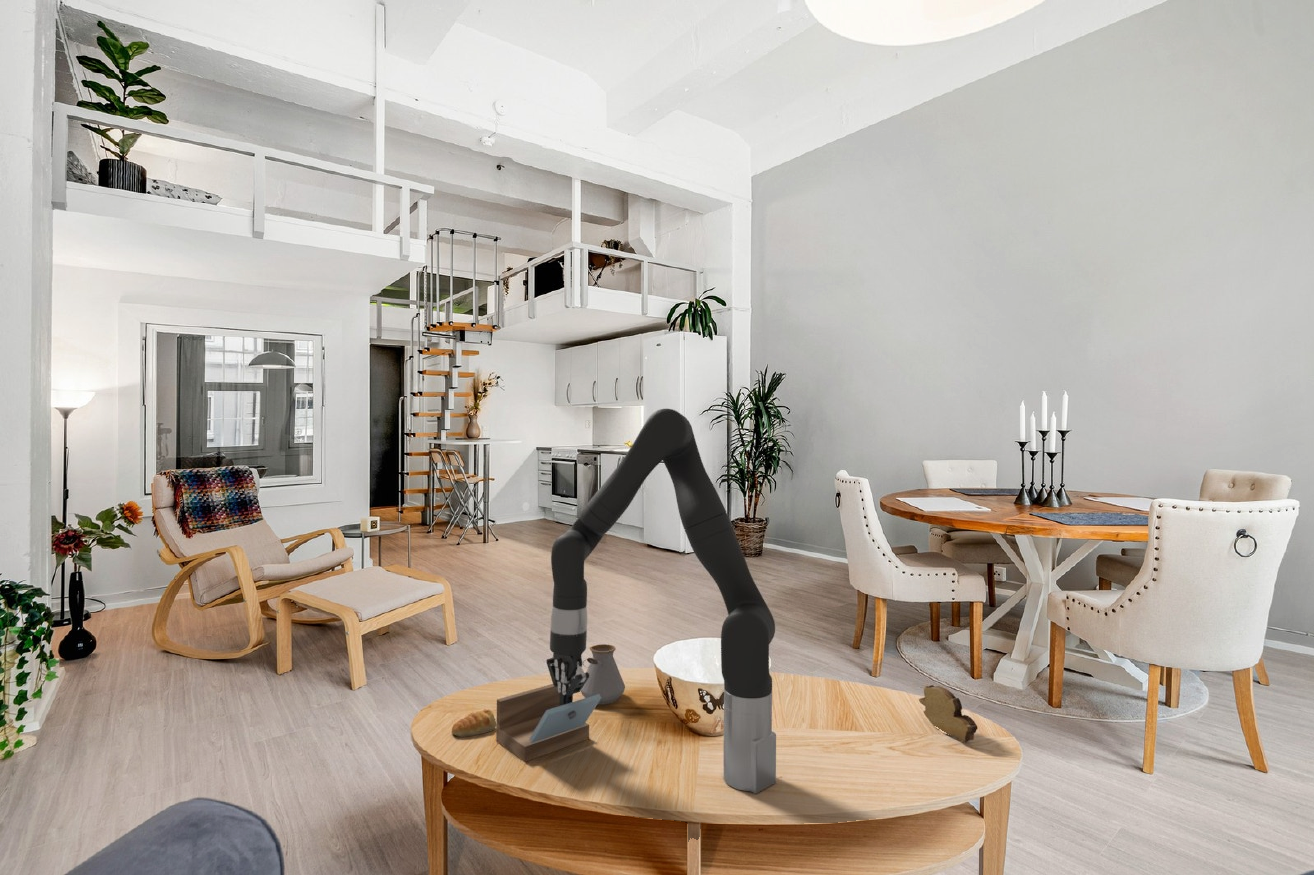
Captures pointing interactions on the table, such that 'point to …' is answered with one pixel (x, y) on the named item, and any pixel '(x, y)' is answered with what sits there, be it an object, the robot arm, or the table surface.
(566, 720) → the light blue flat panel
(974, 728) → the wooden carving
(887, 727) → the table surface
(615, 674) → the coffee pot
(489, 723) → the pastry
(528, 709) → the brown wooden l-shaped piece
